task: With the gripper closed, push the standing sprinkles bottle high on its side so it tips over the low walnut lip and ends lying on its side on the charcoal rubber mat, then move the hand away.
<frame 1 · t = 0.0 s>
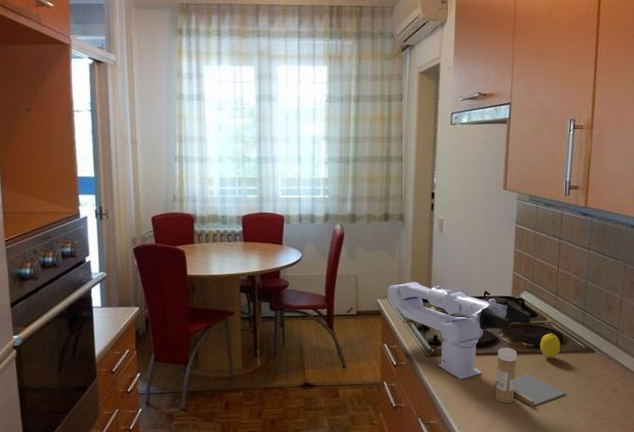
hand: (518, 322, 129), 22 cm above the worktop, tool horizontal, fingers open, 7 cm apart
sprinkles bottle: (504, 399, 135), on the worktop
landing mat: (529, 390, 139), on the worktop
lemon: (549, 358, 158), on the worktop
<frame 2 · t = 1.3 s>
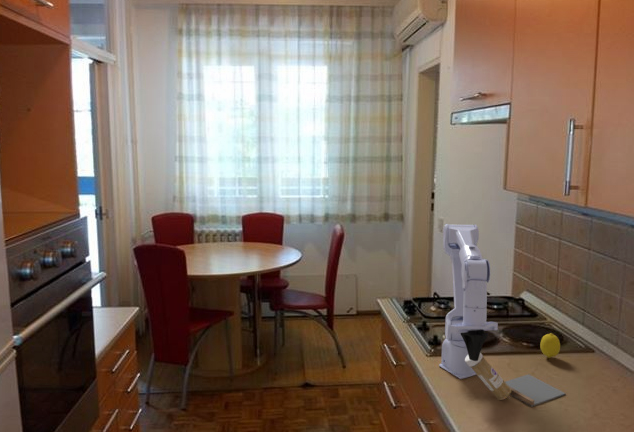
hand: (473, 359, 131), 11 cm above the worktop, tool pointing down, fingers closed, pressing on sprinkles bottle
sprinkles bottle: (505, 395, 134), point 1 cm above the worktop, touching gripper
everything else where it was.
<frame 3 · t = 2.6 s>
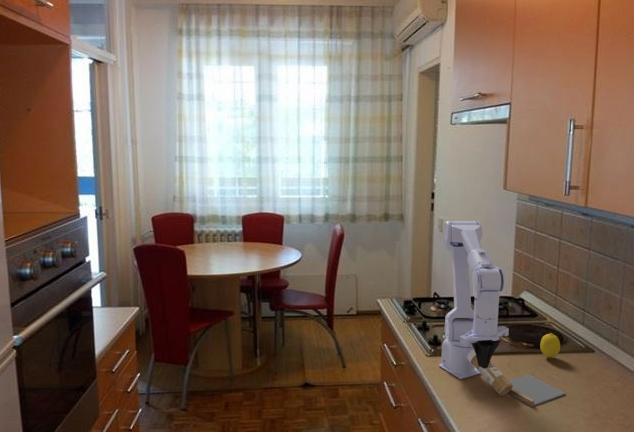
hand: (482, 366, 130), 10 cm above the worktop, tool pointing down, fingers closed
sprinkles bottle: (507, 391, 135), point 2 cm above the worktop, touching arm
everything else where it was.
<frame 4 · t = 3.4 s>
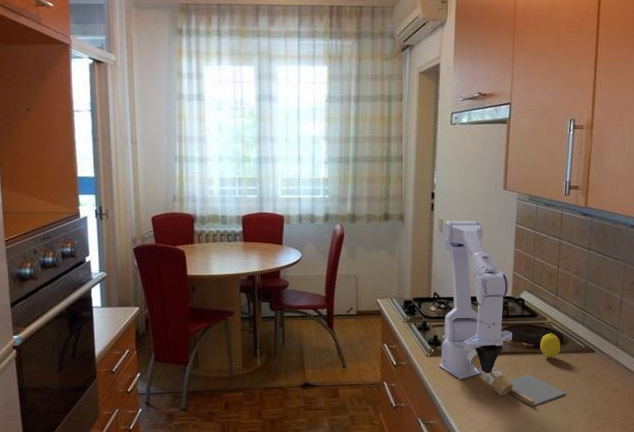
hand: (486, 371, 130), 9 cm above the worktop, tool pointing down, fingers closed
nothing on the worktop moved.
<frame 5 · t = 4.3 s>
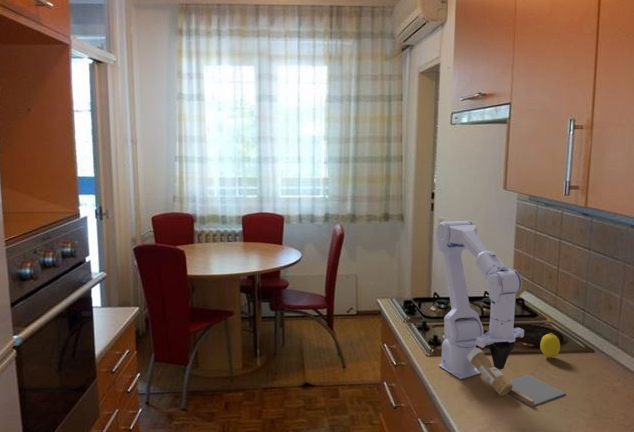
hand: (498, 367, 132), 9 cm above the worktop, tool pointing down, fingers closed
nothing on the worktop moved.
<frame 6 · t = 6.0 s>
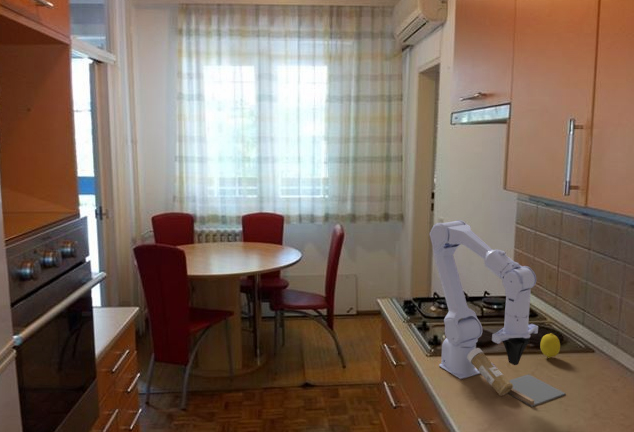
hand: (513, 363, 134), 9 cm above the worktop, tool pointing down, fingers closed
nothing on the worktop moved.
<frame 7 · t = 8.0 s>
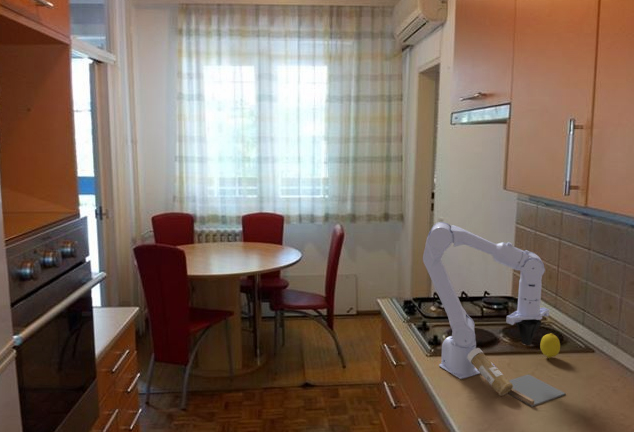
hand: (526, 343, 144), 10 cm above the worktop, tool pointing down, fingers closed
nothing on the worktop moved.
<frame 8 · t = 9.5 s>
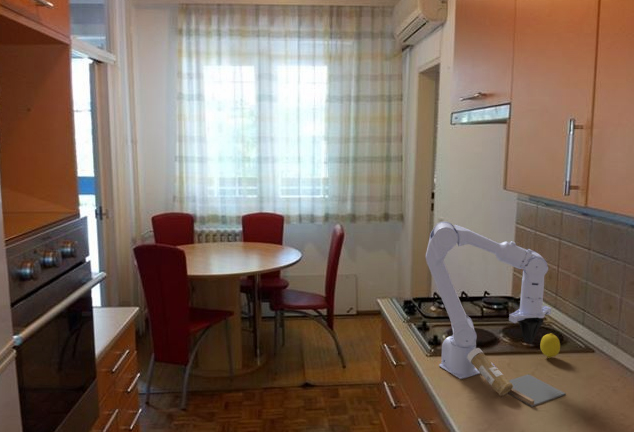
hand: (528, 342, 145), 10 cm above the worktop, tool pointing down, fingers closed
nothing on the worktop moved.
at the end: sprinkles bottle tilted 65°; sprinkles bottle inside the target area (6.2 cm from its centre), point 1.9 cm above the worktop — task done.
